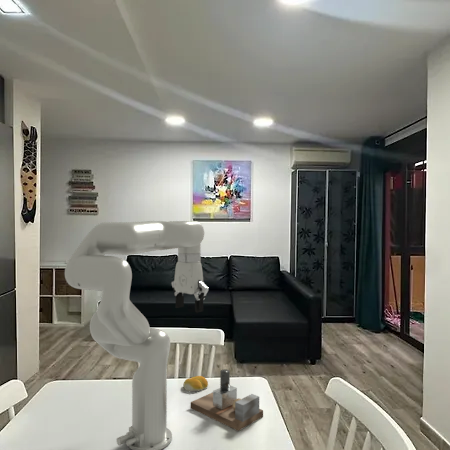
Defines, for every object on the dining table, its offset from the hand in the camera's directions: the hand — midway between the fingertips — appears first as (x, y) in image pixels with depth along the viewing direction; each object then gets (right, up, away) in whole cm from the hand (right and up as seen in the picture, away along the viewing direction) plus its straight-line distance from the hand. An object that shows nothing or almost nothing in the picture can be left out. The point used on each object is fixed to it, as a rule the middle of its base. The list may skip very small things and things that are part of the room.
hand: (189, 309), depth 134 cm
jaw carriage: (+12, -30, -4) cm, 32 cm away
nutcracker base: (+12, -32, -4) cm, 35 cm away
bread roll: (+1, -33, +15) cm, 36 cm away
